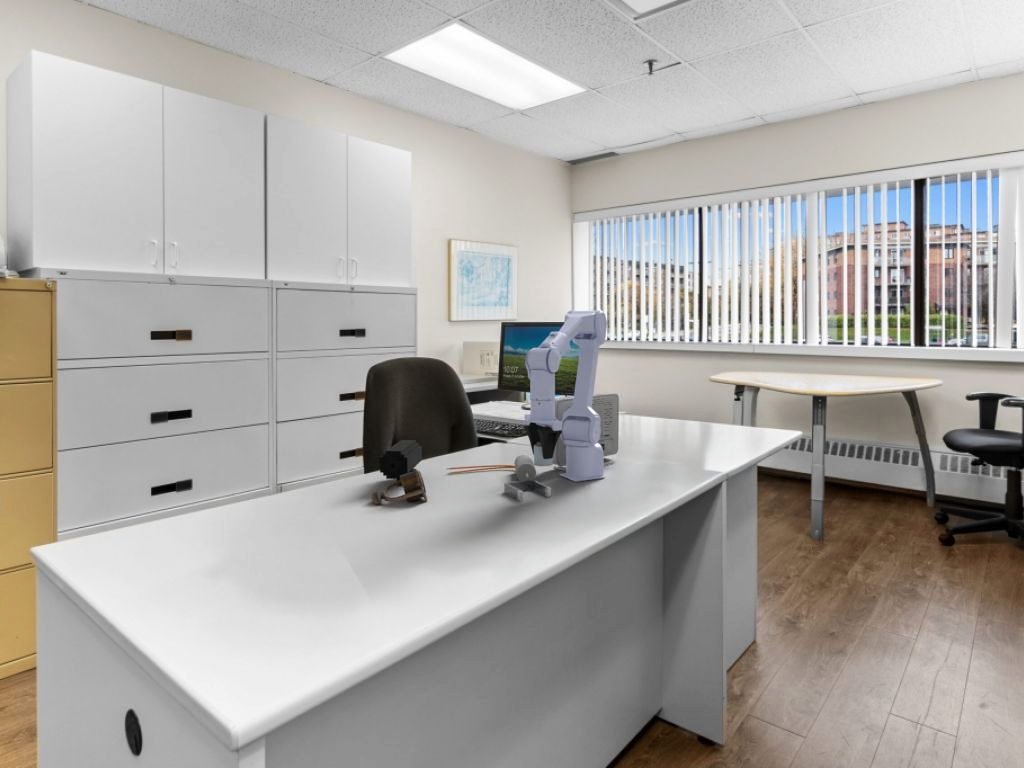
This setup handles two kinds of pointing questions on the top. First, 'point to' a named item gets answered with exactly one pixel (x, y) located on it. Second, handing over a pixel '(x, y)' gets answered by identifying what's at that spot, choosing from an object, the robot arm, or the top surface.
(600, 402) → the network device
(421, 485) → the mechanical counter
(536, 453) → the light grey cylinder
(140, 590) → the top surface
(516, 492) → the clip cradle
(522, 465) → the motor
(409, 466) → the security camera
